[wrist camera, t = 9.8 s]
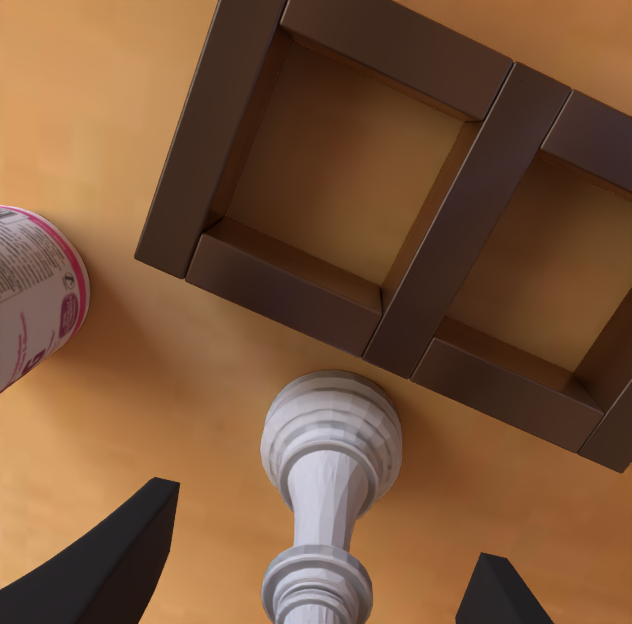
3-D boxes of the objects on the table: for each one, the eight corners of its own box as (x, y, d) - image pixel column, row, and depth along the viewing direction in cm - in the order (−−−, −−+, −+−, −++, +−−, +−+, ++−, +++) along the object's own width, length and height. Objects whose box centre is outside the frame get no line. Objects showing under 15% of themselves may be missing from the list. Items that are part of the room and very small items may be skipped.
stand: (753, 196, 15) (826, 210, 12) (587, 427, 17) (622, 475, 15) (262, -42, 14) (241, -75, 11) (164, 239, 16) (131, 259, 14)
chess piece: (395, 490, 19) (428, 870, 9) (266, 480, 19) (169, 838, 9) (406, 371, 17) (458, 677, 8) (266, 363, 17) (152, 647, 8)
